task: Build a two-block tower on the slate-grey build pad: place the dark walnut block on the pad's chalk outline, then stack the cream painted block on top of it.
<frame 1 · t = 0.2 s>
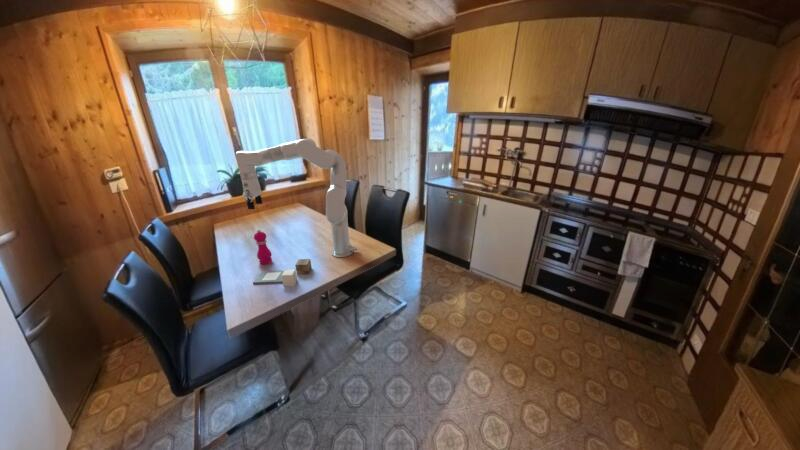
hand: (255, 206, 145), 31 cm above the table, fingers open, 9 cm apart
build pad: (271, 277, 134), on the table
cream block: (290, 282, 130), on the table
pepper mill: (266, 262, 150), on the table
walnut block: (304, 271, 140), on the table
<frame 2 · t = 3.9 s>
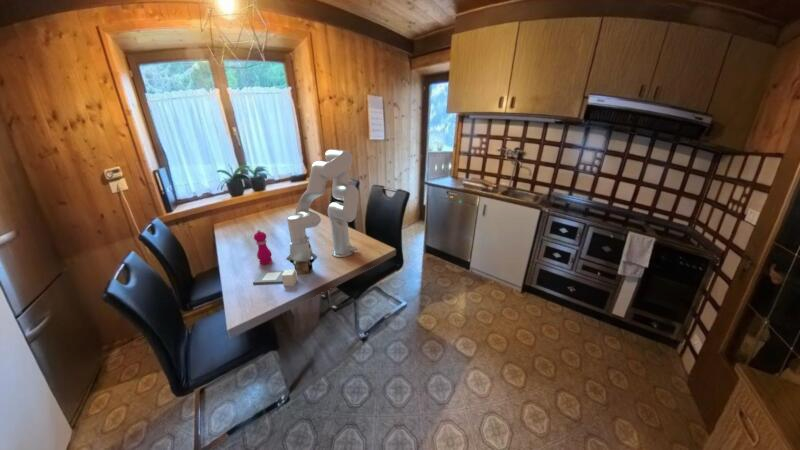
hand: (304, 270, 139), 1 cm above the table, fingers closed on walnut block, 6 cm apart
walnut block: (304, 271, 139), on the table, touching gripper
everything else where it was.
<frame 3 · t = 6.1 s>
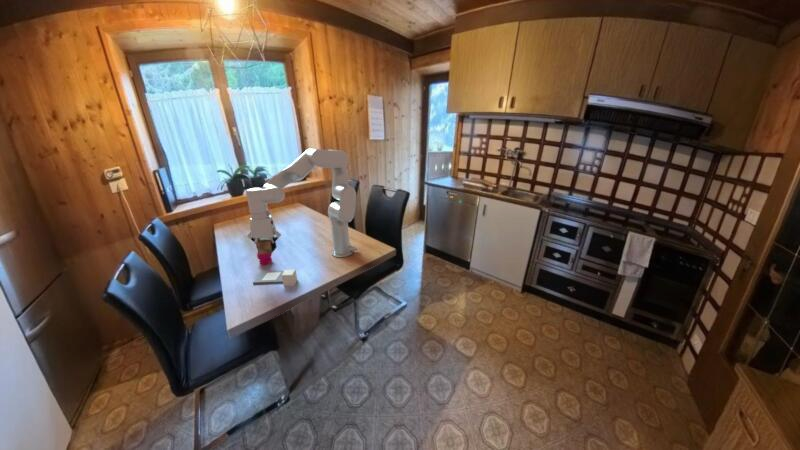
hand: (267, 249, 128), 16 cm above the table, fingers closed on walnut block, 6 cm apart
walnut block: (267, 251, 129), point 15 cm above the table, touching gripper
everything else where it was.
when the fingers open (3 cm above the table, at t = 8.6 s): walnut block drops 1 cm, resting on build pad.
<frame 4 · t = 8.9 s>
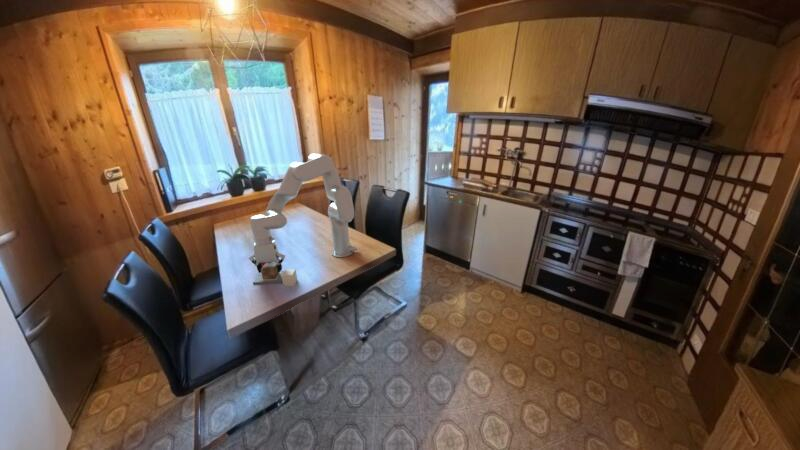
hand: (270, 271, 133), 4 cm above the table, fingers open, 9 cm apart
walnut block: (271, 276, 134), point 1 cm above the table, touching build pad
everything else where it was.
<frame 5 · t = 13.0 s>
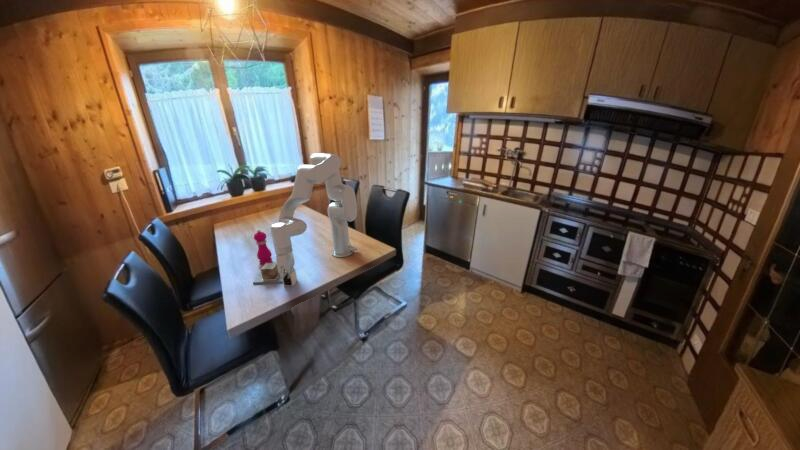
hand: (290, 281, 130), 1 cm above the table, fingers closed on cream block, 5 cm apart
cream block: (290, 282, 130), on the table, touching gripper
everything else where it was.
when the fingers open (9 cm above the table, at t = 17.6 s): cream block stays where it is, resting on walnut block.
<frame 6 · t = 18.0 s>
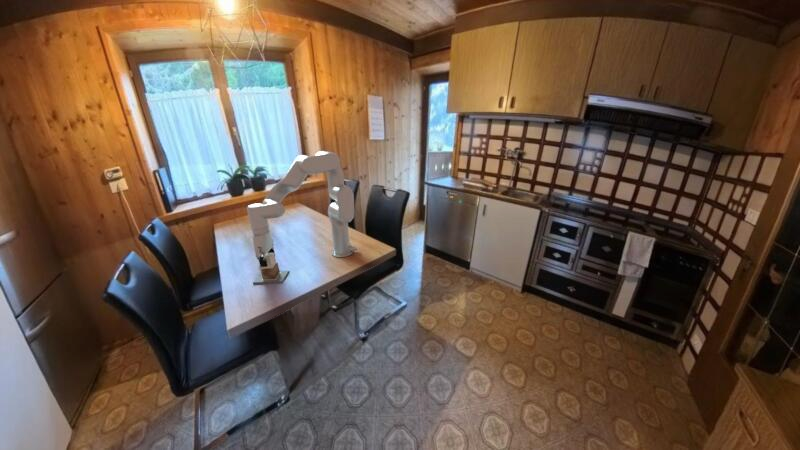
hand: (268, 261, 131), 10 cm above the table, fingers open, 9 cm apart
cream block: (269, 265, 132), point 7 cm above the table, touching walnut block
walnut block: (271, 276, 134), point 1 cm above the table, touching build pad, cream block
everything else where it was.
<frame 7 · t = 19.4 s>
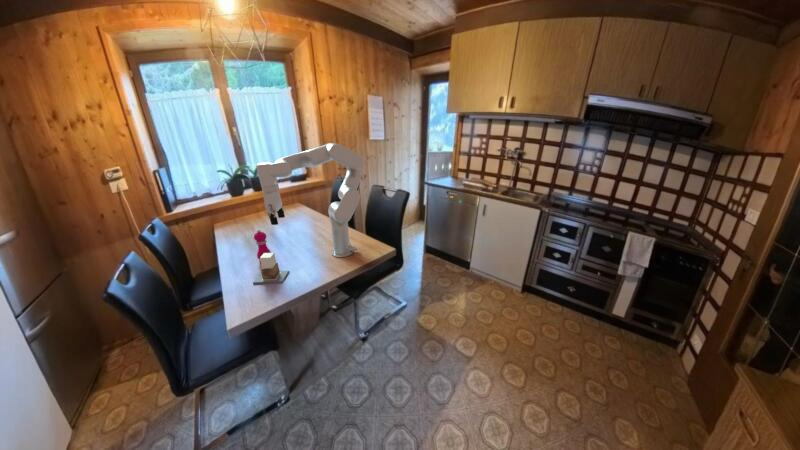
hand: (278, 220, 135), 27 cm above the table, fingers open, 9 cm apart
nothing on the table moved.
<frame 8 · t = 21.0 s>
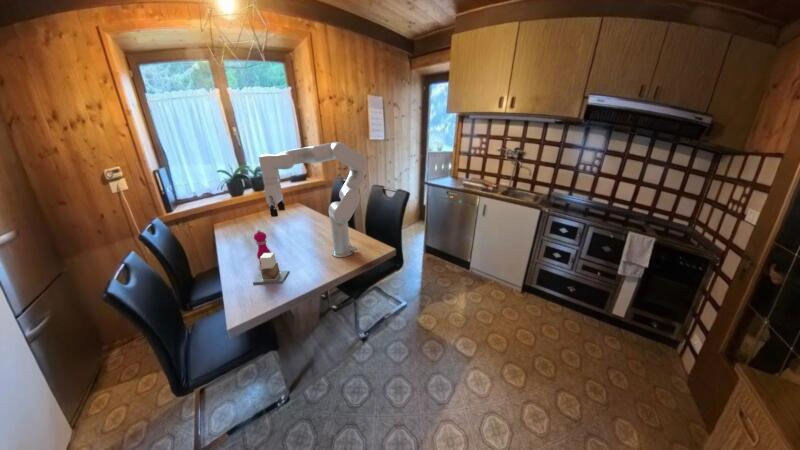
hand: (278, 213, 135), 30 cm above the table, fingers open, 9 cm apart
nothing on the table moved.
at the end: walnut block inside the target area on the build pad (0.0 cm from its centre), point 1.0 cm above the build pad's base; cream block 0.1 cm off-centre on the walnut block, point 6.0 cm above the walnut block's base; cream block tilted 0° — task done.
